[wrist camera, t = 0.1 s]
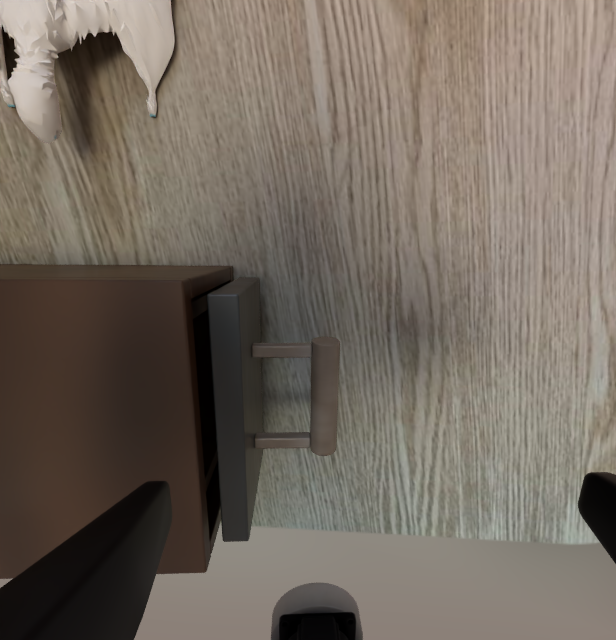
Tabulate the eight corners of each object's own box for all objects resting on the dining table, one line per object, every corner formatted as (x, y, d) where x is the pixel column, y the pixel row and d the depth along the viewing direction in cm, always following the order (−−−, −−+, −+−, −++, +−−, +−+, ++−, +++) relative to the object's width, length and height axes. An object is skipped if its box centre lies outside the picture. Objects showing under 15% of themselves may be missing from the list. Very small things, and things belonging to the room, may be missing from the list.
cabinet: (232, 265, 19) (182, 280, 11) (240, 448, 22) (206, 573, 13) (-17, 264, 18) (-279, 277, 10) (25, 451, 21) (-152, 584, 13)
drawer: (332, 277, 18) (353, 294, 12) (327, 447, 21) (342, 539, 14) (21, 275, 18) (-143, 292, 11) (56, 451, 20) (-61, 550, 14)
